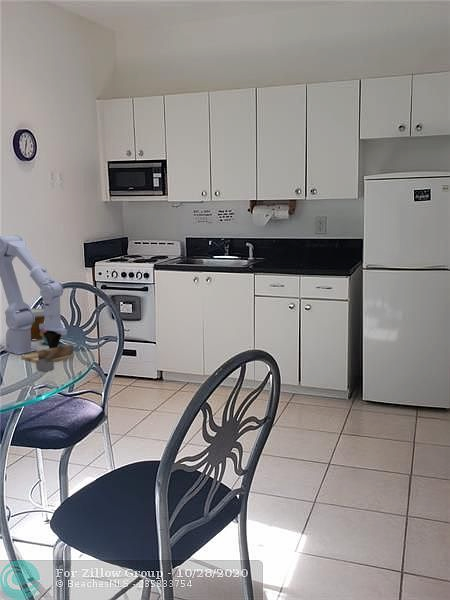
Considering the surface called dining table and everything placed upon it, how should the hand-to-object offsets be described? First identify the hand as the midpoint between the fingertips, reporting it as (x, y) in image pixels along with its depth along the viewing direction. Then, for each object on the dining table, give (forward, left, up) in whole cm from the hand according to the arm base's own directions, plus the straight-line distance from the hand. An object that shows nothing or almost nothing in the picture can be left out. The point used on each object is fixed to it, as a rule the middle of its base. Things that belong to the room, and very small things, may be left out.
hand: (53, 350), depth 227 cm
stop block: (+11, -12, -2) cm, 16 cm away
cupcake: (-17, +11, -2) cm, 21 cm away
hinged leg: (+4, -2, -1) cm, 5 cm away
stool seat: (0, -3, -2) cm, 3 cm away
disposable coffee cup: (-28, +11, -2) cm, 30 cm away
